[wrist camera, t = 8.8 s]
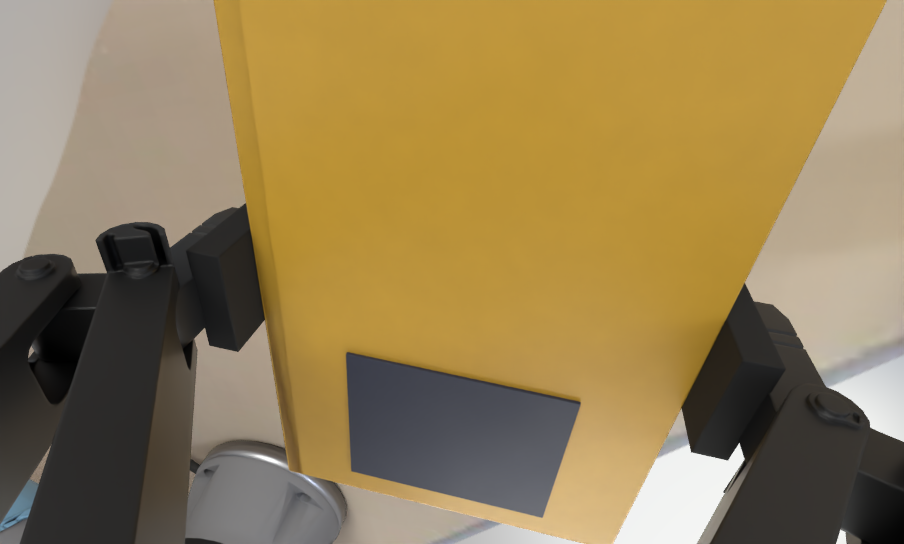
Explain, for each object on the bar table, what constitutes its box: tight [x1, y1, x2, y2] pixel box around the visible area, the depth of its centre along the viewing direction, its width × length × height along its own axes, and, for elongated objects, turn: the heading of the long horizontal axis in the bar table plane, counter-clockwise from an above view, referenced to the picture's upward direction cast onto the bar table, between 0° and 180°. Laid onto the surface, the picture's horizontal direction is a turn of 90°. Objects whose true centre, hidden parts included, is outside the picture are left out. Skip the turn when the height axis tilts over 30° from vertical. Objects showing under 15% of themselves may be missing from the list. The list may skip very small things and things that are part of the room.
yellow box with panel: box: [214, 0, 887, 544], centre depth 14 cm, size 16×10×6 cm, turn 175°
